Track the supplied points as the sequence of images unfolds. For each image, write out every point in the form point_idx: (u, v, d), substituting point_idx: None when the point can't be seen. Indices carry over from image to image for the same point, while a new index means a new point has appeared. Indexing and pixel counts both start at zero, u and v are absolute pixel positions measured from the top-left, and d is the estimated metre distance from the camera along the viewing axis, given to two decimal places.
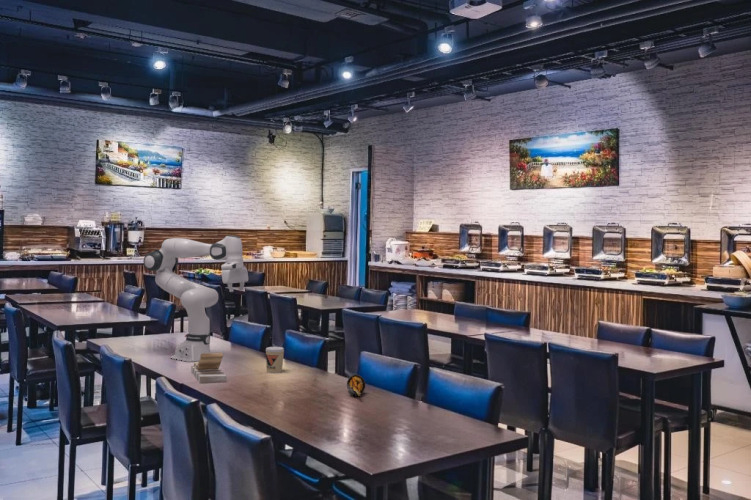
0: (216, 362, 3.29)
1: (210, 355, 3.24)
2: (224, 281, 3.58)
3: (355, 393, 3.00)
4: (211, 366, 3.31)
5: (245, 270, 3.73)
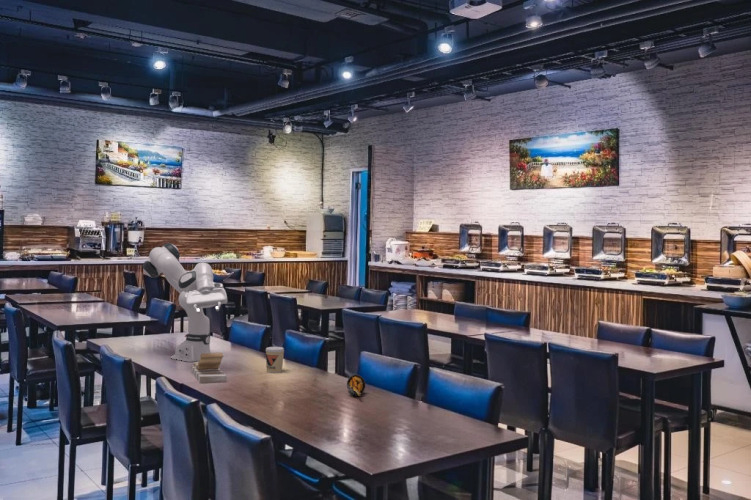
0: (216, 362, 3.29)
1: (210, 355, 3.24)
2: None
3: (355, 393, 3.00)
4: (211, 366, 3.31)
5: None
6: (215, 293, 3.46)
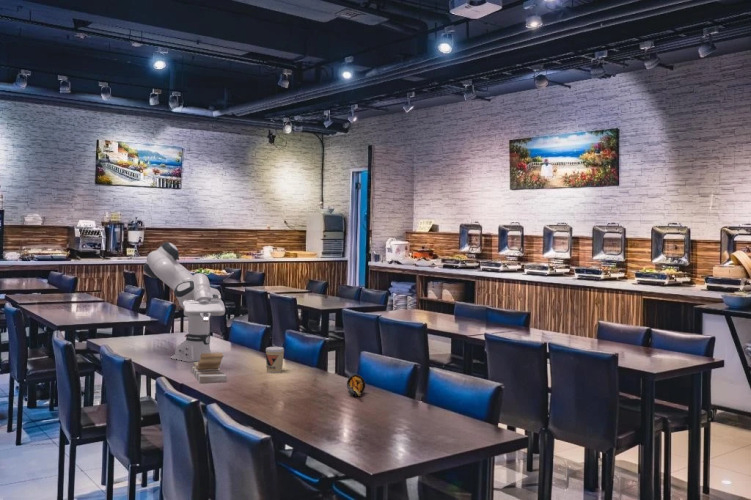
0: (216, 362, 3.29)
1: (210, 355, 3.24)
2: (224, 311, 3.49)
3: (355, 393, 3.00)
4: (211, 366, 3.31)
5: None
6: (213, 304, 3.48)
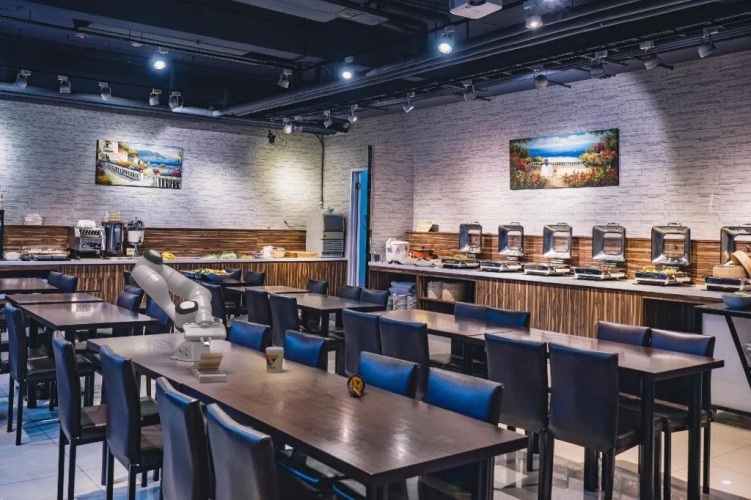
0: (216, 362, 3.29)
1: (210, 355, 3.24)
2: None
3: (355, 393, 3.00)
4: (211, 366, 3.31)
5: None
6: (214, 328, 3.39)
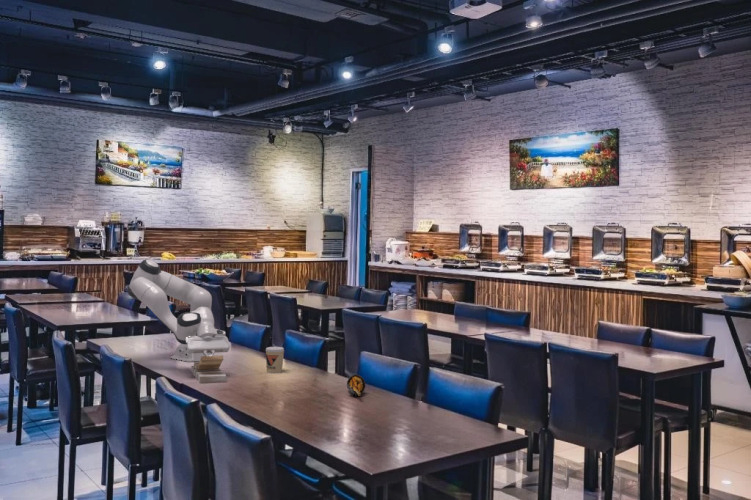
0: (216, 364, 3.29)
1: (210, 358, 3.23)
2: None
3: (355, 393, 3.00)
4: (211, 367, 3.31)
5: None
6: (217, 340, 3.34)
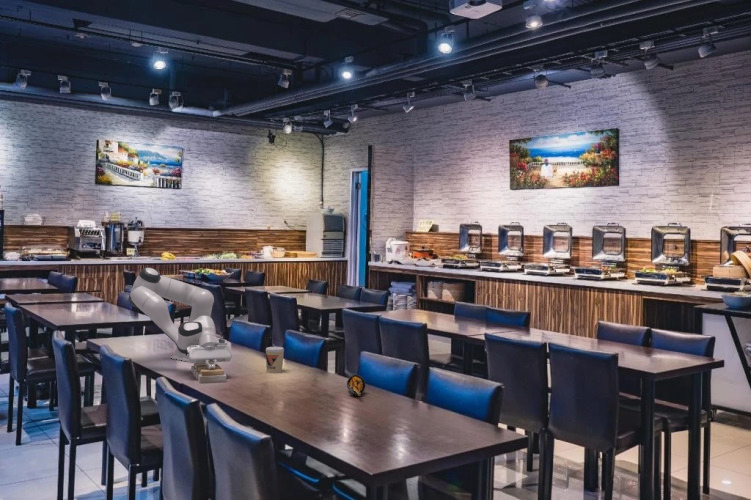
0: None
1: (211, 374, 3.21)
2: (231, 357, 3.32)
3: (355, 393, 3.00)
4: None
5: None
6: (219, 349, 3.31)
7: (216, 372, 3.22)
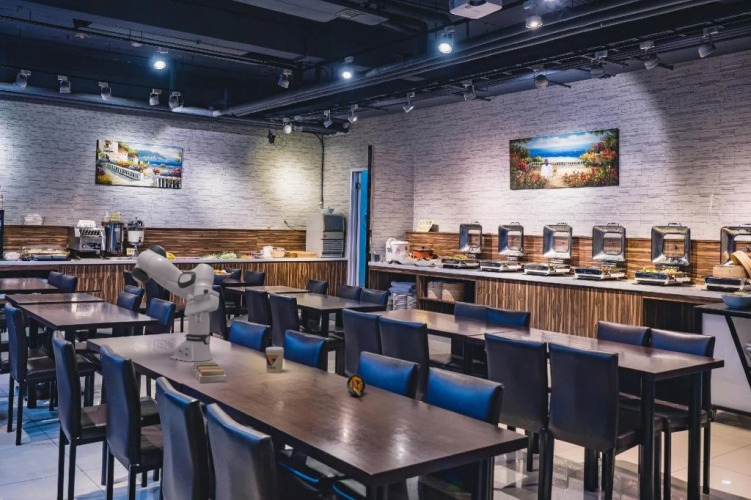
0: None
1: (211, 374, 3.21)
2: (214, 306, 3.25)
3: (355, 393, 3.00)
4: None
5: None
6: (205, 300, 3.29)
7: (216, 372, 3.22)
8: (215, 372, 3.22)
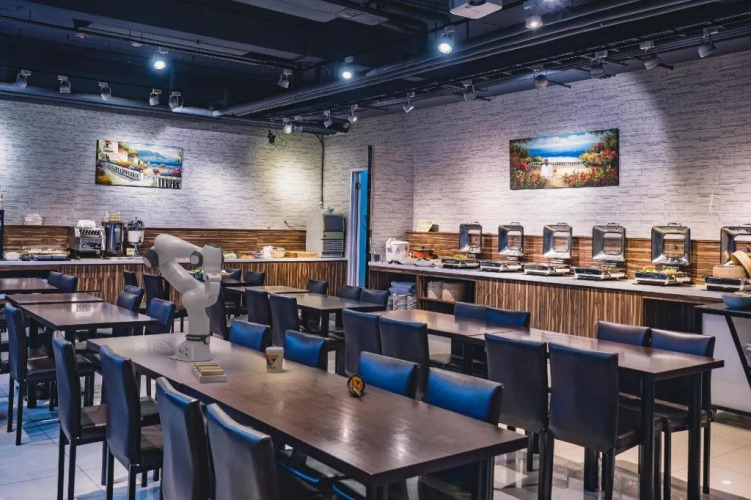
0: None
1: (211, 374, 3.21)
2: (214, 294, 3.35)
3: (355, 393, 3.00)
4: None
5: None
6: None
7: (216, 372, 3.22)
8: (215, 372, 3.22)
